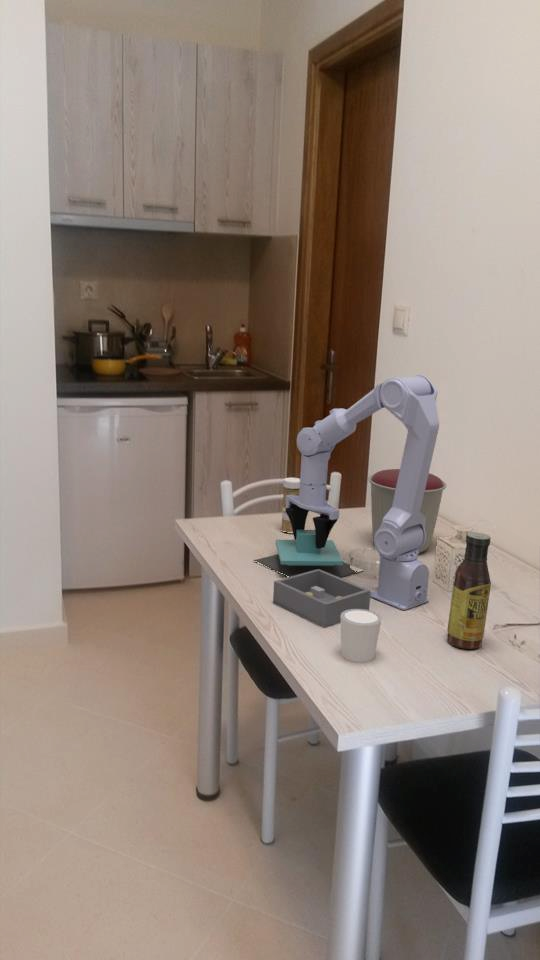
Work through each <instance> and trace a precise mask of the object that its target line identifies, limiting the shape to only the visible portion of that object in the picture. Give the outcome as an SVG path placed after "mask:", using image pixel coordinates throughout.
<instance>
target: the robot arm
mask: <svg viewBox="0 0 540 960" xmlns="http://www.w3.org/2000/svg"><path fill="white" fill-rule="evenodd" d="M437 396H438V390H437V388H436V387H435V386H434V384H433V382H432V381H431V379H429V378H428V377H427V376H425V375H423V374H422V375H421V374H417V375H413V376H412V375H411V376H403V377H401V376H400V377H396V376H393V377H389V378H387V379H386V380H385V379H384V381H383V382H380V383H378V384H377V385H376V386H375V387H374V388H373V389H372V390H370V391H369V392H368V393H367V394H365V395H364V396H363V397H362V398H360V399H359V400H357V402H355V403H354V404H353V405H351V406H350V407H349V408H347V409H345V408H343V407H342V408H341V407H340V408H332V409H331V410H329V415H328V416H326V417H324V418H322V420H316V421H315V422H314V426H313V427H303V428H302V429H301V430H300V431H299V432H298V434H297V437H296V446H297V448H298V451H299V452H300V453H301V458H300V459H301V461H300V472H299V473H300V475H299V479H300V490H299V496H296V495H293V494H292V495H287V496H286V504H288V505H290V507H289V508H286V513H287V515H288V517H289V519H290V522H291V525H292V530H293V538H294V539H293V540H296V530H306V522H307V519H308V514H309V512H311V513H314V514H318V515H319V516H318V515H317V516H315V517H314V516H313V517H312V522H313V523H314V530H315V532H316V548H318V549H320V548H324V547H325V545H326V542H327V540H329V539H328V538H329V536H330V534H331V531H332V529H333V528H334V526H335V524H336V523H337V522H338V519H339V518H340V509H338V508H336V507H334V506H332V505H331V504H329V503H328V500H326V497H327V483H328V471H329V470H328V469H329V460H330V459H331V453H332V452H333V450H334V449H335V447H336V445H337V444H338V443H340V442H342V440H344V439H346V438H347V437H349V436H350V435H352V434H354V432H355V431H356V429H357V423H360V422H361V421H363V420H365V419H366V418H368V417H370V416H372V415H373V414H375V413H376V412H378V411H380V410H381V409H386V410H387V411H388V412H390V414H392V415H393V416H394V417H395V418H396V419H398V420H399V422H401V423H402V424H403V426H405V428H406V430H407V433H406V434H407V435H406V439H405V442H404V443H405V444H404V447H403V451H402V452H403V453H402V458H401V462H400V466H399V467H400V468H399V469H400V471H399V476H398V481H397V485H396V490H395V495H394V500H393V504H392V508H391V509H390V510H389V512H388V513H387V514H386V515H385V516H384V518H383V519H382V524H381V526H380V528H379V529H378V530H377V532H376V534H375V537H374V538H373V543H374V547H375V549H376V551H377V552H378V557H379V569H378V580H377V589H376V590H373V591H371V594H370V598H374V599H376V600H378V601H380V602H383V603H385V604H388V605H389V606H392V607H394V608H398V609H400V610H402V611H406V610H408V609H412V608H414V607H417V606H420V605H423V604H425V603H428V602H429V600H430V599H429V598H428V597H427V596H428V587H429V579H430V577H429V576H430V571H429V568H428V566H427V565H426V564H424V563H423V562H422V561H420V560H419V558H418V557H419V556H418V555H419V554H420V553H419V548H421V547H422V546H423V545H424V543H425V541H426V531H425V522H426V518H425V517H424V516H423V515H422V514H421V512H420V510H421V505H422V501H423V496H424V492H425V487H426V483H427V479H428V474H429V473H430V469H431V464H432V461H433V455H434V451H435V446H436V442H437V438H438V433H439V428H440V420H439V414H438V413H439V412H438V409H437Z"/></svg>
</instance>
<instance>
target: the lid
mask: <svg viewBox="0 0 540 960" xmlns="http://www.w3.org/2000/svg"><path fill="white" fill-rule="evenodd" d="M275 545H276V551H277V554H278V555H279V559H280V563H281V564H286V565H288V566H334V565H343V562H344V561H343V559H342V557H341V554H340V553H339V550H338V549H337V546H336V544H335V542H334V540H332V539H327V542H326V545H325V547H324V548H320V549H318V548H316V532H315V529H305V530H296V540H295V539H275Z"/></svg>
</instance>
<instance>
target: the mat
mask: <svg viewBox="0 0 540 960" xmlns="http://www.w3.org/2000/svg"><path fill="white" fill-rule="evenodd" d="M254 561H257V562H259V563H261V564H263V565H265V566H267V567H269V568H271V569H273V570H275V571H274V572H276V571H278V572H280V573H283V574H285V575H287V576H289V577H291V576H295V575H298V574H302V573H306V572H309V571H313V570H317V569H320V570H322V571H325V572H327V573H330V574H332V575H335V576H337V577H339V578H342V579H343V578H346V577H349V576H352V574H353V575H356V574H357V573H356V572H357V571H356V572H355V571H354V570H352V569H351V568H350V565H351V564H350V563H347V562H344V561H343V565H334V566H288V565H286V564H281V563H280V559H279V555H278V553H277V554H273V555H269V556H267V557H262V558H258V559H253V562H254ZM269 568H268V569H269ZM271 569H270V570H271ZM273 570H272V571H273ZM278 572H277V573H278ZM280 573H279V574H280ZM355 573H356V574H355ZM285 575H284V576H285ZM287 576H286V577H287Z"/></svg>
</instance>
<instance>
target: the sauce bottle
mask: <svg viewBox="0 0 540 960" xmlns="http://www.w3.org/2000/svg"><path fill="white" fill-rule="evenodd" d="M491 539H492V538H491V536H489V535H488V534H486V533H482V532H477V531H476V532H468V533H466V537H465V542H466V543H465V544H466V545H465V552H464V555H463V556H464V559H463V560H462V561H461V563H460V564H459V565H458V567H457V568H456V571H455V575H454V582H453V585H452V586H453V587H452V593H451V600H450V606H449V607H450V608H449V613H448V615H449V616H448V622H447V629H446V631H447V637H446V639H447V642H448V643H449V644H450V645H452V646H454V647H456V648H459V649H466V650H475V649H477V648H479V647H481V645H482V642H483V639H484V635H485V628H486V621H487V614H488V606H489V601H490V593H491V592H490V591H491V586H492V581H491V576H490V573H489V567H488V566H489V565H488V555H489V553H488V552H489V548H490V547H489V546H490V544H491Z"/></svg>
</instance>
